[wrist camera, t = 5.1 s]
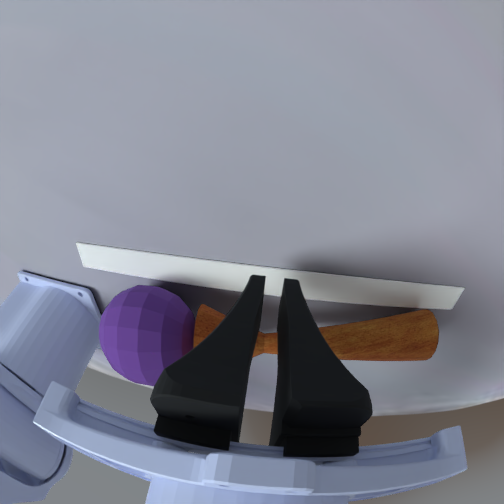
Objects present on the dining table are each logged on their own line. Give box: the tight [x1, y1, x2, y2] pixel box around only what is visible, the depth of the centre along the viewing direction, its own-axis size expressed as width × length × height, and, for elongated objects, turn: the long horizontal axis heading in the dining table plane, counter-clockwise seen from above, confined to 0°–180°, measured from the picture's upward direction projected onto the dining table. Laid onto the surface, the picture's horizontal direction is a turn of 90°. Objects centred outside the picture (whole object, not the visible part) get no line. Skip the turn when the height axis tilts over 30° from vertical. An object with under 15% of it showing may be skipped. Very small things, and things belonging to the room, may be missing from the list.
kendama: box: [99, 285, 439, 386], centre depth 15 cm, size 6×6×20 cm
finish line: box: [76, 242, 465, 310], centre depth 16 cm, size 26×2×1 cm, turn 87°
